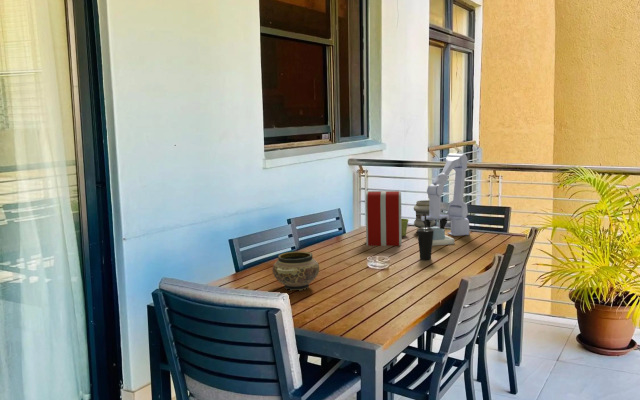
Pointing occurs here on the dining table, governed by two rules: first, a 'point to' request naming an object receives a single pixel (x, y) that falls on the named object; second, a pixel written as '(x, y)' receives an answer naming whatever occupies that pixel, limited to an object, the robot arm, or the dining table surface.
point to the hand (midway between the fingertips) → (435, 233)
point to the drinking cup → (425, 242)
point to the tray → (443, 241)
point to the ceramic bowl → (296, 270)
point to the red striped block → (383, 218)
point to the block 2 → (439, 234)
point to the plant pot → (404, 226)
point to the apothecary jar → (422, 213)
